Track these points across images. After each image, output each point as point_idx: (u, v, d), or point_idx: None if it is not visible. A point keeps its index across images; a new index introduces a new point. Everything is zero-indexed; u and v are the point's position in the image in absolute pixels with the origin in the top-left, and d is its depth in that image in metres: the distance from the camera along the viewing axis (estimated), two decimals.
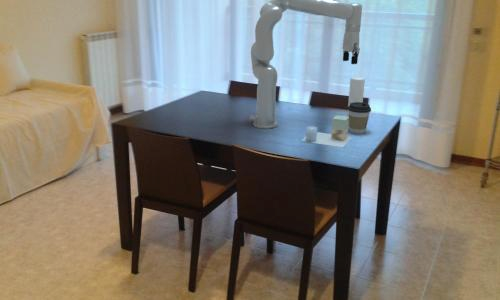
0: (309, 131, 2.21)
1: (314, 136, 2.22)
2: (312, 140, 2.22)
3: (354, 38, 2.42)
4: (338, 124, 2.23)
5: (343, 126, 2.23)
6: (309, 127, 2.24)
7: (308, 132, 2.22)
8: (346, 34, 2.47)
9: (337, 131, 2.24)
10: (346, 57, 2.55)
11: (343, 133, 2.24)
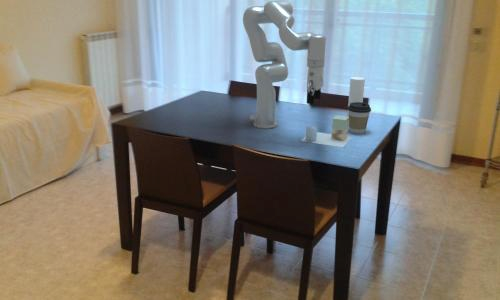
0: (309, 131, 2.21)
1: (314, 136, 2.22)
2: (312, 140, 2.22)
3: None
4: (338, 124, 2.23)
5: (343, 126, 2.23)
6: (309, 127, 2.24)
7: (308, 132, 2.22)
8: (320, 70, 2.12)
9: (337, 131, 2.24)
10: None
11: (343, 133, 2.24)
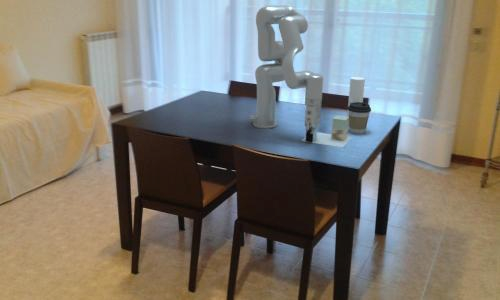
0: None
1: (314, 136, 2.22)
2: None
3: None
4: (338, 124, 2.23)
5: (343, 126, 2.23)
6: None
7: None
8: (318, 108, 2.18)
9: (337, 131, 2.24)
10: None
11: (343, 133, 2.24)
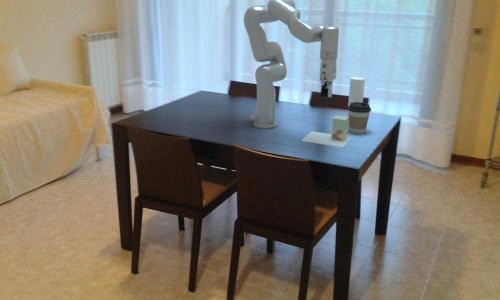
0: None
1: (329, 91, 2.16)
2: None
3: None
4: (338, 124, 2.23)
5: (343, 126, 2.23)
6: None
7: None
8: (333, 62, 2.12)
9: (337, 131, 2.24)
10: None
11: (343, 133, 2.24)
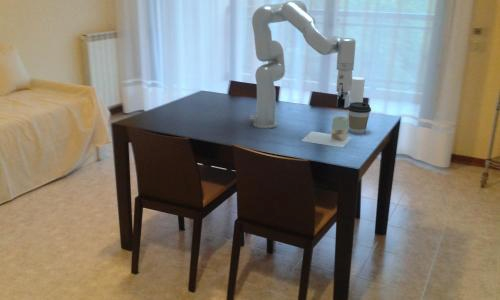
0: None
1: (346, 102, 2.20)
2: (344, 105, 2.20)
3: None
4: (338, 124, 2.23)
5: (343, 126, 2.23)
6: None
7: None
8: (350, 73, 2.16)
9: (337, 131, 2.24)
10: None
11: (343, 133, 2.24)
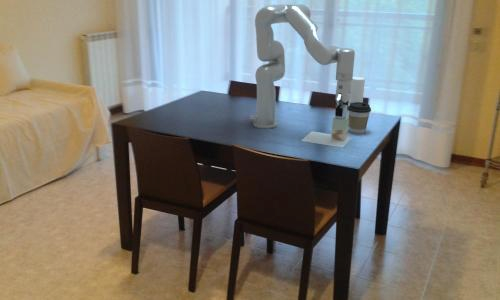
0: None
1: (344, 113, 2.22)
2: (342, 117, 2.22)
3: None
4: (338, 124, 2.23)
5: (343, 126, 2.23)
6: None
7: None
8: (349, 83, 2.17)
9: (337, 131, 2.24)
10: None
11: (343, 133, 2.24)
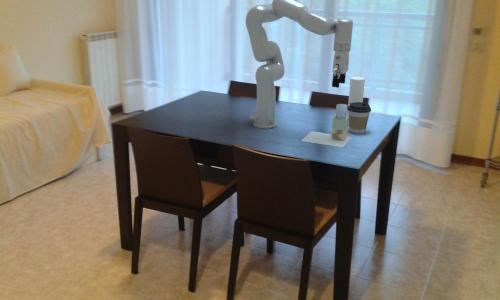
0: (339, 109, 2.21)
1: (344, 113, 2.22)
2: (342, 117, 2.22)
3: None
4: (338, 124, 2.23)
5: (343, 126, 2.23)
6: (339, 104, 2.23)
7: (338, 109, 2.22)
8: (346, 54, 2.15)
9: (337, 131, 2.24)
10: None
11: (343, 133, 2.24)
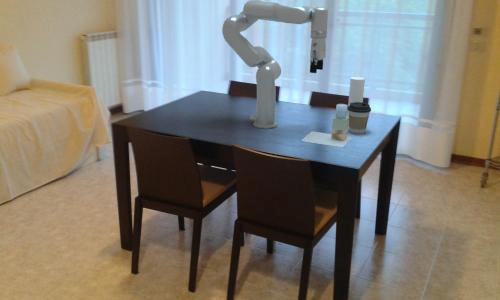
0: (339, 109, 2.21)
1: (344, 113, 2.22)
2: (342, 117, 2.22)
3: None
4: (338, 124, 2.23)
5: (343, 126, 2.23)
6: (339, 104, 2.23)
7: (338, 109, 2.22)
8: (323, 41, 2.26)
9: (337, 131, 2.24)
10: None
11: (343, 133, 2.24)
